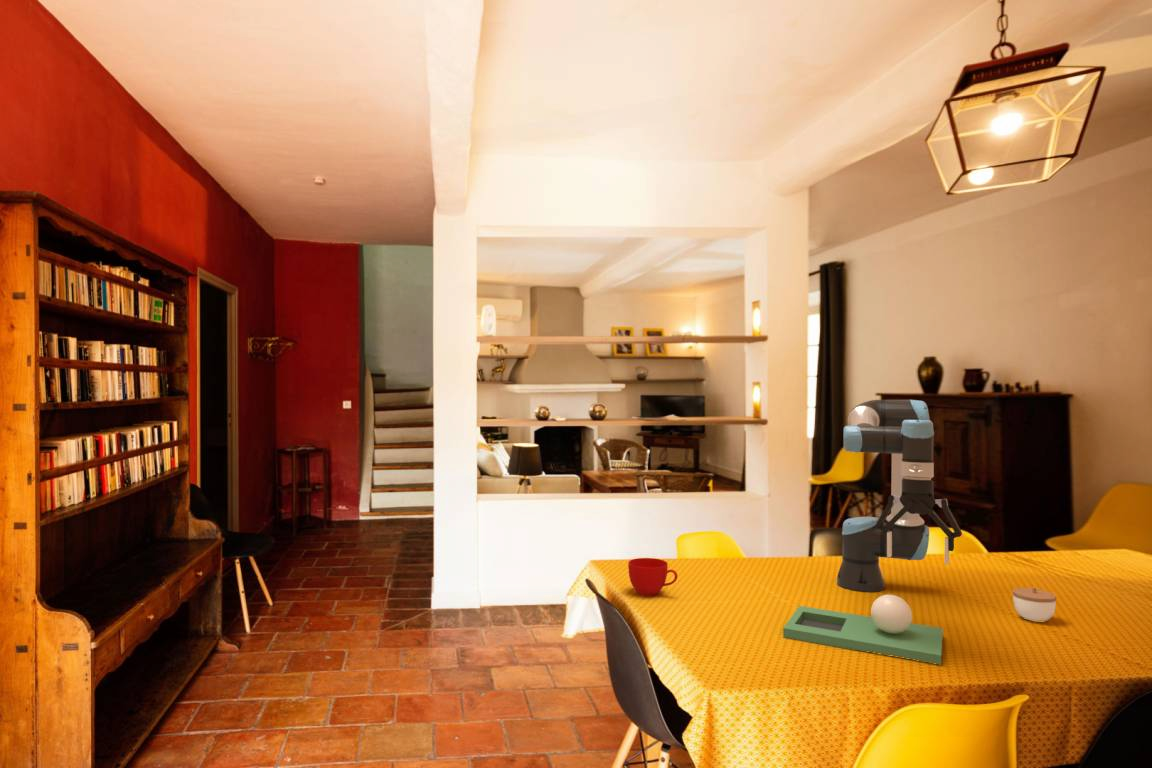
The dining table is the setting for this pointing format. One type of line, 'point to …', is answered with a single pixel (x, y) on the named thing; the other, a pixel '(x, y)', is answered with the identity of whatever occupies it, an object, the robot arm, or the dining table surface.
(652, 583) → the ceramic cup
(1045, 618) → the lidded jar
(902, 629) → the ball
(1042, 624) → the dining table surface
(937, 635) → the putting board
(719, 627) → the dining table surface
